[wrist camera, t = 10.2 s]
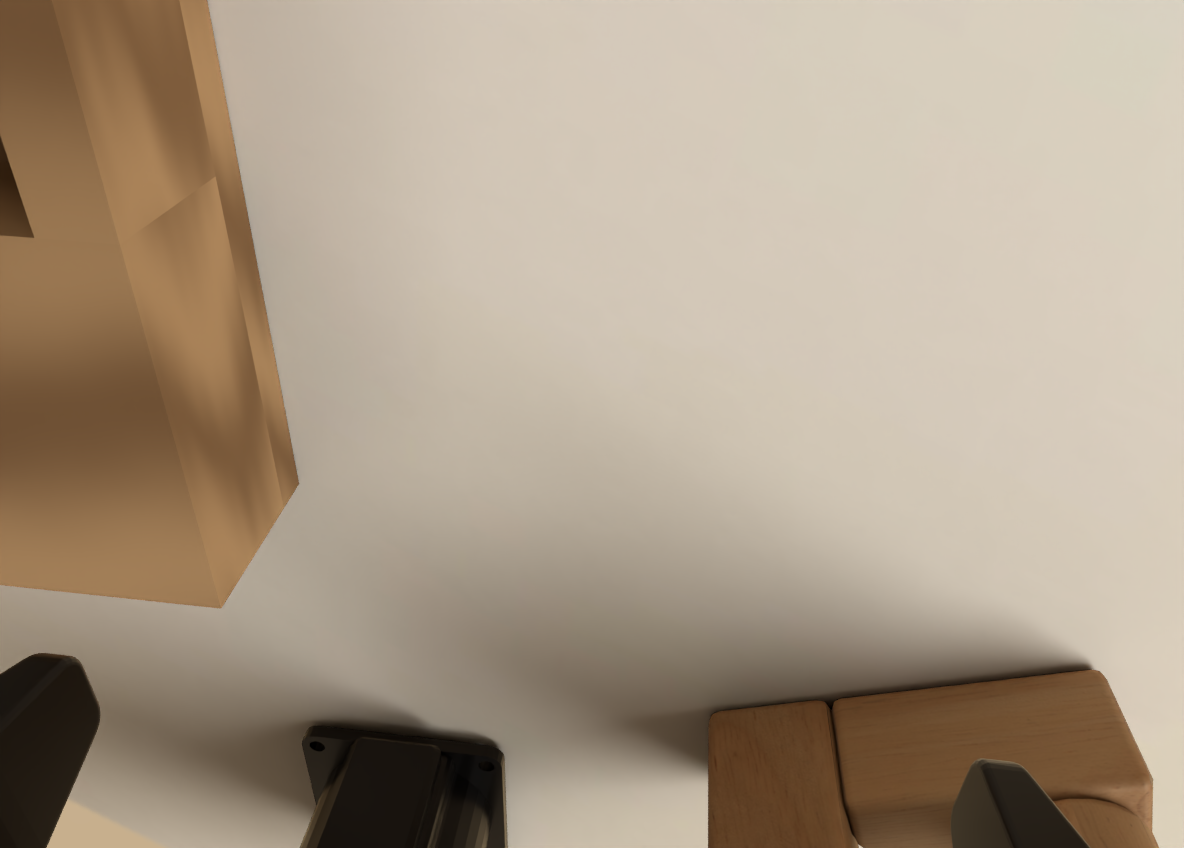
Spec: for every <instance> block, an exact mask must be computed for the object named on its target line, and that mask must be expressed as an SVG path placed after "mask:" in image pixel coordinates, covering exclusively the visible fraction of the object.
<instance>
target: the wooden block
mask: <svg viewBox="0 0 1184 848" xmlns="http://www.w3.org/2000/svg"><path fill="white" fill-rule="evenodd" d="M982 758H984V759H993V760H1001V761H1010V762H1015V763H1018V764H1020V765H1021V766H1023V767H1024V768H1025V769H1026V770H1027V771H1028V772H1029V773H1030V774H1031V775H1032V777H1033V778H1034V779H1035V780H1036V781H1037V783H1038V784H1039V785H1040V786H1041V788H1042V789H1043V790H1044V791H1045V792H1046V794H1047V795H1048V796H1049V797H1050V798H1051V800H1052V801H1053V802H1054V803H1055V805H1056V806H1057V807H1058V808H1059V809H1060V811H1061V812H1062V813H1063V814H1064V815H1065V817H1066V818H1067V819H1068V820H1069V822H1070V823H1071V824H1072V825H1073V826H1074V828H1075V829H1076V830H1077V831H1078V832H1079V834H1080V835H1081V836H1082V837H1083V839H1084V840H1085V841H1086V842H1087V843H1088V845H1089V846H1090V847H1091V848H1159V847H1158V844H1157V842H1156V840H1155V837H1154V835H1153V833H1152V806H1153V778H1152V776H1151V774H1150V772H1149V770H1148V767H1147V765H1146V763H1145V761H1144V759H1143V757H1142V755H1141V752H1140V750H1139V748H1138V746H1137V744H1136V742H1135V739H1134V737H1133V735H1132V733H1131V731H1130V729H1129V726H1128V724H1127V722H1126V720H1125V718H1124V716H1123V714H1122V711H1121V709H1120V707H1119V705H1118V703H1117V701H1116V698H1115V696H1114V694H1113V692H1112V690H1111V688H1110V686H1109V683H1108V681H1107V679H1106V678H1105V677H1104V676H1103V674H1102V673H1101V672H1100V671H1096V670H1084V671H1076V672H1067V673H1058V674H1050V675H1041V676H1032V677H1024V678H1015V679H1006V680H998V681H989V682H980V683H972V684H963V685H955V686H946V687H937V688H929V689H920V690H911V691H903V692H894V693H885V694H877V695H868V696H859V697H851V698H842V699H839V700H836V701H834V705H833V708H832V711H831V710H830V708H829V707H828V706H827V704H826V703H825V702H824V701H819V700H813V701H804V702H796V703H787V704H779V705H770V706H761V707H753V708H744V709H735V710H727V711H718V712H716V713H714V714H712V715H711V718H710V721H709V725H708V848H859V847H858V844H859V845H860V846H862V847H863V848H953V847H952V838H951V812H952V808H953V805H954V802H955V800H956V798H957V796H958V793H959V791H960V789H961V786H962V784H963V782H964V780H965V777H966V775H967V773H968V771H969V768H970V766H971V765H972V763H973V762H974V761H976V760H977V759H982Z"/></svg>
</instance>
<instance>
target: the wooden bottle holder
mask: <svg viewBox="0 0 1184 848" xmlns="http://www.w3.org/2000/svg"><path fill="white" fill-rule="evenodd" d="M298 485H299V482H298V476H297V471H296V466H295V461H294V455H293V450H292V445H291V440H290V434H289V429H288V424H287V419H286V413H285V408H284V403H283V398H282V392H281V387H280V382H279V376H278V371H277V366H276V361H275V355H274V350H273V345H272V340H271V334H270V329H269V324H268V319H267V313H266V308H265V303H264V298H263V292H262V287H261V282H260V277H259V271H258V266H257V261H256V256H255V250H254V245H253V240H252V234H251V229H250V224H249V219H248V213H247V208H246V203H245V198H244V192H243V187H242V182H241V177H240V171H239V166H238V161H237V156H236V150H235V145H234V140H233V135H232V129H231V124H230V119H229V114H228V108H227V103H226V98H225V92H224V87H223V82H222V77H221V71H220V66H219V61H218V56H217V50H216V45H215V40H214V35H213V29H212V24H211V19H210V14H209V8H208V3H207V0H0V585H6V586H16V587H25V588H34V589H44V590H53V591H63V592H72V593H81V594H91V595H100V596H110V597H119V598H128V599H138V600H147V601H156V602H166V603H175V604H185V605H194V606H203V607H213V608H222V606H223V605H224V603H225V602H226V600H227V598H228V597H229V595H230V594H231V592H232V590H233V589H234V587H235V586H236V584H237V582H238V581H239V579H240V578H241V576H242V574H243V573H244V571H245V569H246V568H247V566H248V565H249V563H250V561H251V560H252V558H253V557H254V555H255V553H256V552H257V550H258V549H259V547H260V545H261V544H262V542H263V541H264V539H265V537H266V536H267V534H268V533H269V531H270V529H271V528H272V526H273V525H274V523H275V521H276V520H277V518H278V517H279V515H280V513H281V512H282V510H283V509H284V507H285V505H286V504H287V502H288V501H289V499H290V497H291V496H292V494H293V493H294V491H295V489H296V488H297V486H298Z"/></svg>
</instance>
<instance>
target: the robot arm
mask: <svg viewBox="0 0 1184 848" xmlns="http://www.w3.org/2000/svg"><path fill="white" fill-rule="evenodd" d="M99 722H100V707H99V703H98V701H97V699H96V696H95V694H94V691H93V689H92V687H91V684H90V682H89V680H88V677H87V675H86V672H85V670H84V668H83V665H82V664H81V662H80V661H79V660H78V659H76V658H75V657H72V656H66V655H57V654H48V653H38V654H34V655H32V656H29V657H27V658H25V659H24V660H22V661H20V662H19V663H17V664H16V665H14V666H12V667H11V668H9V669H8V670H6V671H4V672H3V673H1V674H0V848H46V847H47V845H48V843H49V840H50V837H51V836H52V833H53V831H54V829H55V827H56V824H57V822H58V820H59V817H60V815H61V813H62V810H63V808H64V806H65V804H66V801H67V799H68V797H69V794H70V792H71V790H72V788H73V785H74V783H75V781H76V778H77V776H78V774H79V771H80V769H81V767H82V765H83V762H84V760H85V758H86V755H87V753H88V751H89V748H90V746H91V744H92V742H93V739H94V737H95V735H96V732H97V729H98V726H99ZM302 746H303V750H304V755H305V759H306V763H307V767H308V772H309V776H310V780H311V784H312V789H313V793H314V797H315V801H316V809H315V811H314V813H313V816H312V818H311V821H310V823H309V826H308V828H307V831H306V833H305V836H304V838H303V841H302V843H301V846H300V848H508V842H507V814H506V786H505V758H504V754H503V753H502V752H501V751H500V750H499V749H497V748H495V747H492V746H488V745H479V744H471V743H462V742H453V741H445V740H436V739H427V738H419V737H410V736H401V735H393V734H384V733H375V732H367V731H358V730H350V729H341V728H332V727H324V726H313V727H310V728H309V729H308V730H307V732H306V734H305V736H304V739H303V741H302ZM951 838H952V847H953V848H1091V847H1090V846H1089V845H1088V843H1087V842H1086V841H1085V840H1084V839H1083V837H1082V836H1081V835H1080V834H1079V832H1078V831H1077V830H1076V829H1075V828H1074V826H1073V825H1072V824H1071V823H1070V822H1069V820H1068V819H1067V818H1066V817H1065V815H1064V814H1063V813H1062V812H1061V811H1060V809H1059V808H1058V807H1057V806H1056V805H1055V803H1054V802H1053V801H1052V800H1051V798H1050V797H1049V796H1048V795H1047V794H1046V792H1045V791H1044V790H1043V789H1042V788H1041V786H1040V785H1039V784H1038V783H1037V781H1036V780H1035V779H1034V778H1033V777H1032V775H1031V774H1030V773H1029V772H1028V771H1027V770H1026V769H1025V768H1024V767H1023V766H1021V765H1020V764H1018V763H1015V762H1010V761H1001V760H993V759H984V758H982V759H977V760H976V761H974V762H973V763H972V765H971V766H970V768H969V771H968V773H967V775H966V777H965V780H964V782H963V784H962V786H961V789H960V791H959V793H958V796H957V798H956V800H955V802H954V805H953V808H952V812H951Z"/></svg>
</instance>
